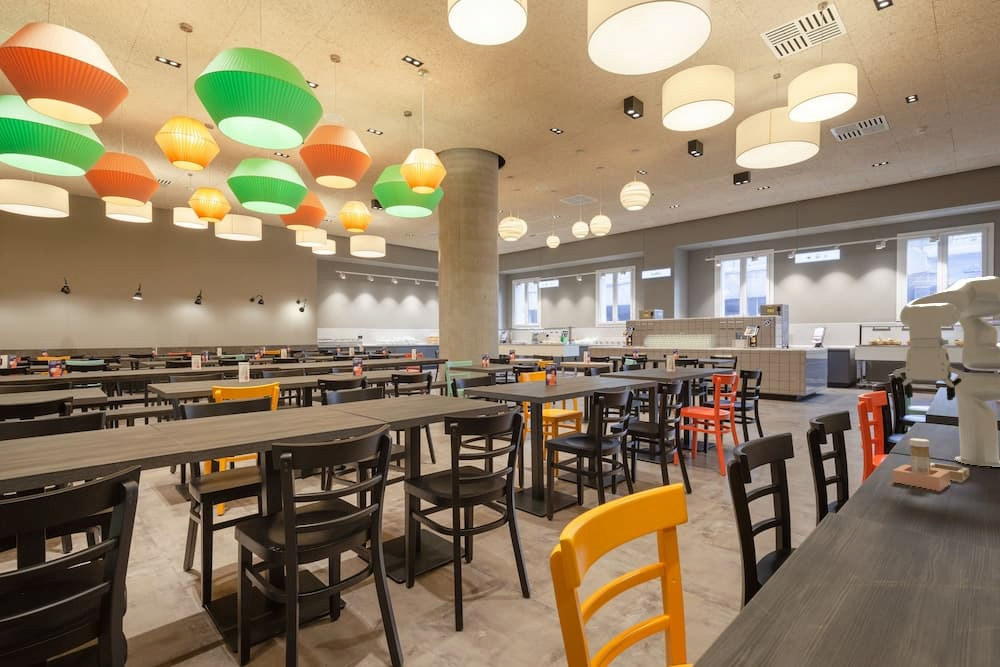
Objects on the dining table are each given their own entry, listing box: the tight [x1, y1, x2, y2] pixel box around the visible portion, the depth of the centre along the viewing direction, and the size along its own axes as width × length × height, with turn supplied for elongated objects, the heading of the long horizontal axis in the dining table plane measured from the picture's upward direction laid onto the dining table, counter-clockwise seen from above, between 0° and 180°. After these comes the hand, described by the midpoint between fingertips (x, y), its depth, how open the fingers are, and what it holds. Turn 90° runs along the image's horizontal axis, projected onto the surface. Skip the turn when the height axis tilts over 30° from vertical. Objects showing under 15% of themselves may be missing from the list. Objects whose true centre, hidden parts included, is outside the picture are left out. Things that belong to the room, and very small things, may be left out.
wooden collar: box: [930, 462, 971, 483], centre depth 151 cm, size 9×9×3 cm
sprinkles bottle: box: [909, 438, 931, 474], centre depth 145 cm, size 5×5×13 cm
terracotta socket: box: [892, 463, 951, 492], centre depth 144 cm, size 11×11×4 cm
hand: (929, 398), depth 149 cm, fingers open, 9 cm apart
